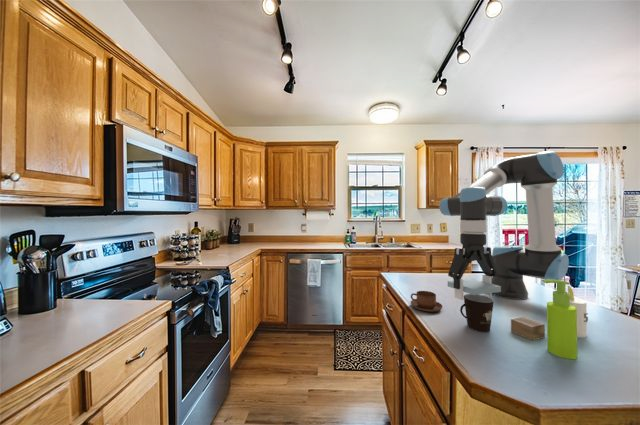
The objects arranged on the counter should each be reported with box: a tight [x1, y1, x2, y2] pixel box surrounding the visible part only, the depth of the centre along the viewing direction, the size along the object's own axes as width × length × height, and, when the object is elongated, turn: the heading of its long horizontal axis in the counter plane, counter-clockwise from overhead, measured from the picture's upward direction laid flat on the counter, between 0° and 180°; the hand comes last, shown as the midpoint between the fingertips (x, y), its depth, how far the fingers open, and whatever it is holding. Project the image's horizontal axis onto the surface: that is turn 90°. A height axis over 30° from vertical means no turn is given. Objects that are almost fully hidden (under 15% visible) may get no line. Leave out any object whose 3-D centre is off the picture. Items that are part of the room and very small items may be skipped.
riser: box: [510, 316, 546, 341], centre depth 78 cm, size 6×6×4 cm
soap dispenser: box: [541, 279, 578, 360], centre depth 68 cm, size 6×7×20 cm
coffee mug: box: [459, 293, 495, 333], centre depth 83 cm, size 12×9×10 cm
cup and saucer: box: [410, 290, 443, 313], centre depth 100 cm, size 12×12×6 cm
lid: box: [447, 278, 501, 295], centre depth 83 cm, size 12×10×2 cm
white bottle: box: [567, 285, 589, 338], centre depth 79 cm, size 6×6×15 cm
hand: (473, 296), depth 83 cm, fingers closed on lid, 12 cm apart
